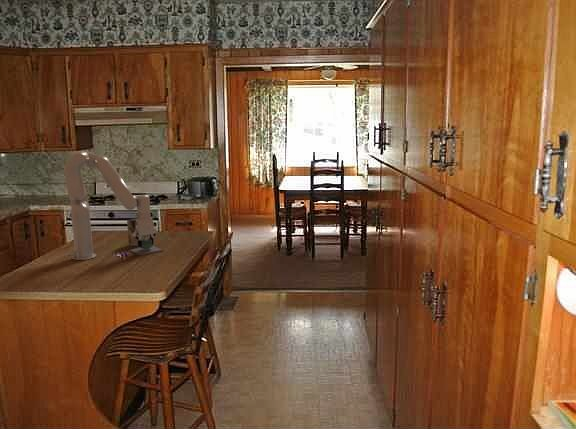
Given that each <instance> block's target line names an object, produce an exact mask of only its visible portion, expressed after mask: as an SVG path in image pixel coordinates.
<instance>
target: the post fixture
mask: <svg viewBox="0 0 576 429" xmlns="http://www.w3.org/2000/svg"><path fill="white" fill-rule="evenodd" d="M148 236H149V235H146V236H143V239H144V241H147V240H148V239H149V237H148ZM163 251H164V250H163V248H159V247H156V246H154V245H152V247H151V248H146V249H142V248H140V247H137V248H133V249H129V252H131V253H134V254H136V255H139V256H145V255H146V256H147V255H150V254H151V255H152V254H156V253H162V252H163Z"/></svg>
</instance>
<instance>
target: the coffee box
mask: <svg viewBox="0 0 576 429" xmlns="http://www.w3.org/2000/svg"><path fill="white" fill-rule="evenodd" d="M136 219H137V218H130V219H127V220H126V223H127V226H126V227H127V235H128V246H137V247H139V246H138V240H137V239H136V238H135V237H133V236H132V234H133V233H134V232H135V230H136ZM136 236H138V235H136ZM141 239H143V236H142V237H141Z"/></svg>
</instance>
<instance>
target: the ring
mask: <svg viewBox="0 0 576 429" xmlns="http://www.w3.org/2000/svg"><path fill="white" fill-rule="evenodd" d="M141 241H142V247H139V248H142V249H146V248H151V247H152V246H153V245H152V239H149V238H148V240H147V241H144V239H141Z"/></svg>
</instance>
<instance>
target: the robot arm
mask: <svg viewBox="0 0 576 429" xmlns="http://www.w3.org/2000/svg"><path fill="white" fill-rule="evenodd" d="M64 164H65V165H64V169H63V170H64V176H65V182H66V183H65V184H66V188H67V189H66V190H67V191H66V192H67V195H68V198H69V202H70V206H71V209H70V217H71V218H70V219H71V224H72V235H73V246H74V248H73V249H74V250H72V251H71V252H67V253H65V256H66V257H70V258H72V260H74V261H85V260H90V259H91V260H92V259H94V258H96V257H97V254H96V253H95V252H94V249H93V237H92V236H93V235H92V228H91V227H92V225H91V224H92V223H91V212H90V211H91V210H90V208H91V207H90V204H89V198H88V193H87V189H86V186H85V185H84V181H83V175H82V169H83V167H84V168H89V169H92V170H96V171H97V172H98V174H99V175H100V176H101V178H102V179H103V180H104V182H105V184H106V185H107V186H108V187H109V189H110V190H111V192H113V193H114V195H115V196H116V197H117V198H118V200H119V202H120V203H121V204H122V206H123V207H124V208H125V209H126V210H128V211H130V210H131V211H132V210H134V209H135V208H136V212H137V213H136V215H134V217H135V219H136V230H135V232H134V233H133V234H132V236H133V237H135V238H136V239H137V240H138V246H137V247H138V248H140V247H142V241H141V237H142V236H146V235H147V236H149V237H148V239H152V246H154V239H155V236H156V235H157V233H158V232H159V230H158V229H156V228H155V222H154V220H153V217H152V216H151V215H152V214H151V199H150V196H149V195H148V194H138V195H137V194H135V195H133V194H132V191H131V190H130V189H129V188H128V186H127V184H126V183H125V181H124V179H123V177H122V176H121V175H120V174H119V172H118V171H117V169H116V168H115V167H114V165H113V164H112V163H111V160H109V158H107V157H106V156H104V155H100V154H94V153H92V152H87V151H84V150H79V151H76V152H74V153H73V154H72V155H70V156H69V157H68V159H67V160H66V162H65V163H64ZM136 235H138V236H136Z"/></svg>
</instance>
